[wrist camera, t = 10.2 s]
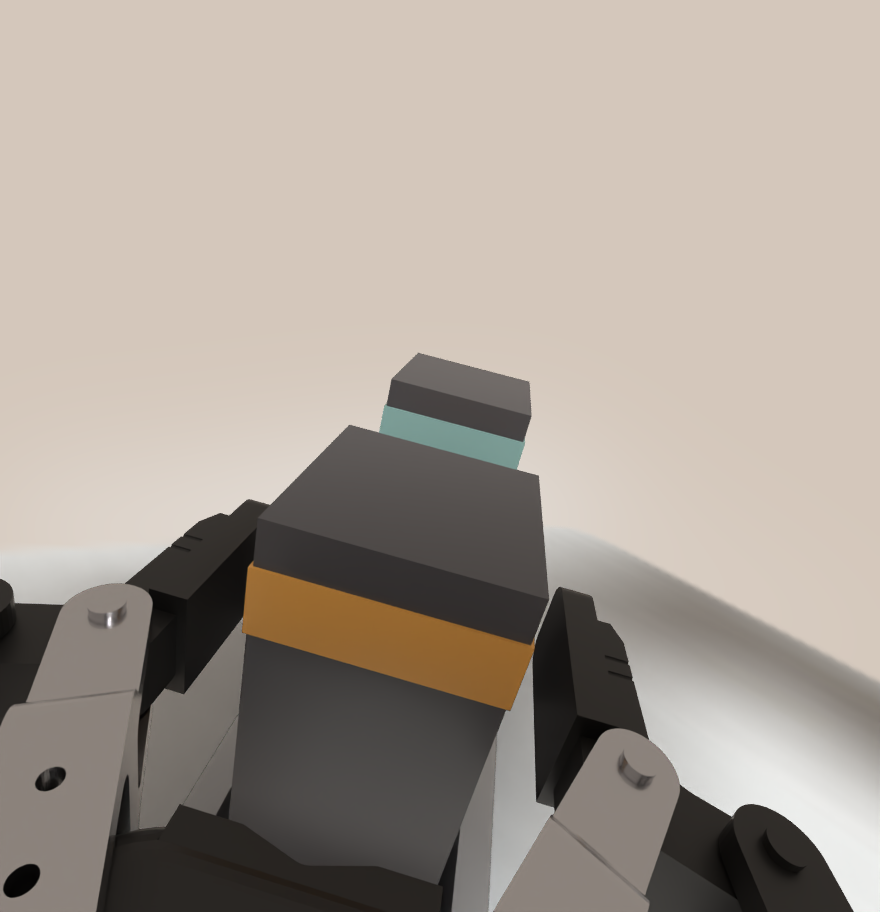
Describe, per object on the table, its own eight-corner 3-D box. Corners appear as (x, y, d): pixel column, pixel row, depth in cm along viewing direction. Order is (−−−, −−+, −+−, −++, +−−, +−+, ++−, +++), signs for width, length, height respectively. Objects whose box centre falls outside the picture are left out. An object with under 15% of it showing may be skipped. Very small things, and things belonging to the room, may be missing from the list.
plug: (419, 832, 15) (541, 475, 10) (385, 1025, 11) (553, 603, 7) (287, 792, 15) (348, 423, 11) (211, 969, 12) (252, 518, 7)
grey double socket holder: (489, 643, 25) (513, 572, 23) (443, 1222, 10) (501, 1143, 8) (331, 597, 25) (343, 525, 23) (60, 1089, 10) (43, 988, 9)
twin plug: (451, 641, 22) (530, 381, 18) (436, 719, 19) (533, 416, 14) (361, 615, 23) (417, 352, 18) (330, 688, 19) (389, 378, 14)
